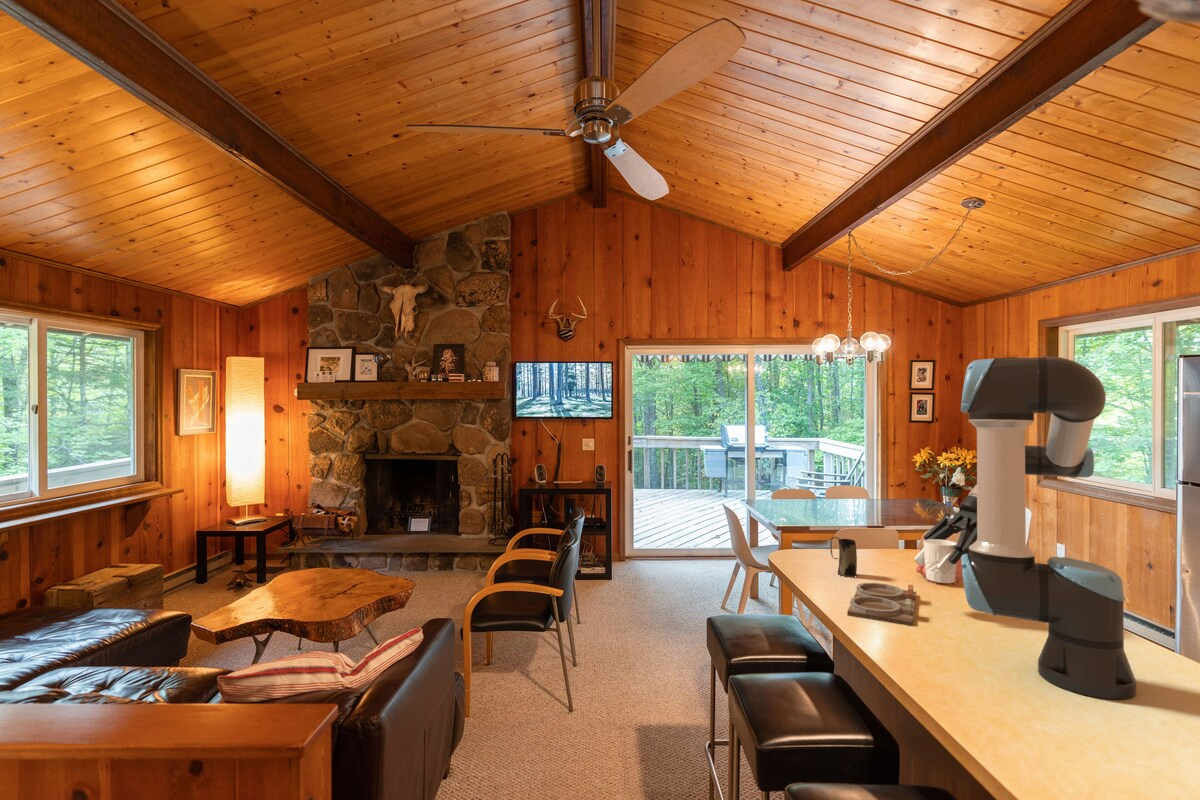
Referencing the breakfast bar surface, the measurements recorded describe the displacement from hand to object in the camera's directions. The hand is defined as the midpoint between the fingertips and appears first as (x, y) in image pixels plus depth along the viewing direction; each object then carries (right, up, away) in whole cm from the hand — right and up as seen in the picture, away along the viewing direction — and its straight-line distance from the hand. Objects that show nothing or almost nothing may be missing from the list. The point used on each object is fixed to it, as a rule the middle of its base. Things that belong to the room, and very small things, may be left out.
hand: (929, 566), depth 159 cm
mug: (-9, -12, +34) cm, 37 cm away
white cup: (+3, -4, +1) cm, 5 cm away
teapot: (+20, -12, +28) cm, 36 cm away
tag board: (-10, -12, +5) cm, 16 cm away
